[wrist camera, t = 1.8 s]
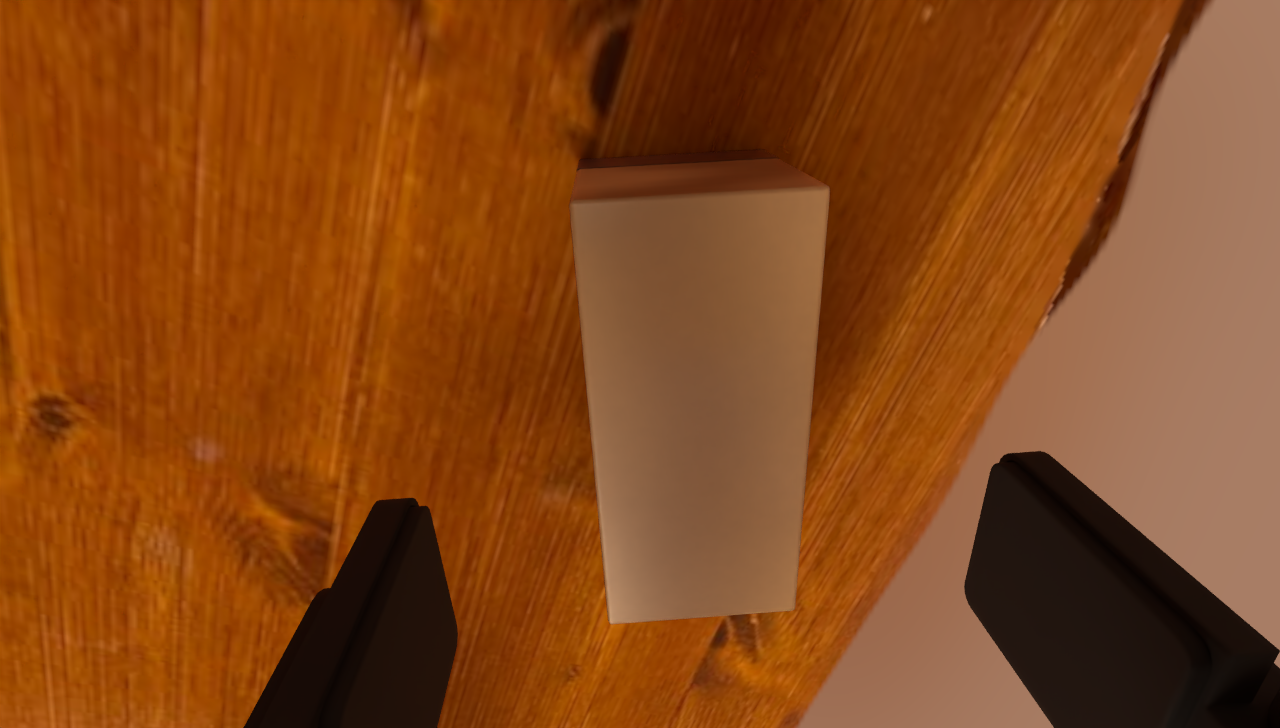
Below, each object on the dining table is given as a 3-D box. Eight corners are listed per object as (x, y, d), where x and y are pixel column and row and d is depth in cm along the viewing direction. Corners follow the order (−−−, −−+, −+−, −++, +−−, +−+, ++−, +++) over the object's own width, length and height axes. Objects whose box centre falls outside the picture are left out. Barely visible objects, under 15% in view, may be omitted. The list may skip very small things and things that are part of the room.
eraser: (764, 148, 15) (832, 185, 11) (751, 485, 20) (795, 611, 15) (578, 159, 15) (568, 200, 11) (607, 495, 19) (608, 625, 15)
